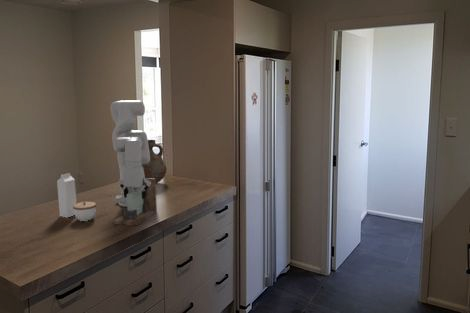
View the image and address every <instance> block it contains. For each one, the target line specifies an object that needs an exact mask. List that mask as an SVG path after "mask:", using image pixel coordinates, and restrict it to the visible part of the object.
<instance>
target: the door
mask: <svg viewBox="0 0 470 313" xmlns="http://www.w3.org/2000/svg"><path fill="white" fill-rule="evenodd" d="M142 191H143V190H142V189H140V188H138V189H136V190H134V191H132V192H130V193H128V194H127V208H126V209H127V210H128V211H134V210H137V215H139V214H140V213H142V212H143V211H144V204H143V199H142Z"/></svg>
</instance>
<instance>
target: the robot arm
mask: <svg viewBox="0 0 470 313" xmlns="http://www.w3.org/2000/svg"><path fill="white" fill-rule="evenodd" d="M109 108H110V114H111V117H112V120H113V122H114V123H115V126H114V128H113V131H112V134H111V135H112V136H111V138H112V148H113V150H114V151H115V152H116V153H117V154H116V155H117V156H116V157H117V162H118V167H119V177H120V178H119V180H118V181H117V182H118V183H119V187H120V194H121V195H116V196H115V200H117V201H119V202H118V206H121V207H124V208H126V207H127V194H128V193H130V192H132V191H134V188H141V189H142V190H143V191H142V199H144V198H146V196H147V195H146V190H147V189H148V188H149V186H150V184H151V182H150V181H148V180H146V179H145V175H144V170H143V167H142V166H141V164H147V163H149V161H150V152H149V145H148V140H149V139H148V135H147V133H146V132H145V131H144V130H133V129H134V128H135V127H136V125H137V122H136V117H143V116H144V115H145V111H146V107H145V104H144V102H143V101H142V100H137V99H136V100H115V101H113V102H111V104H110V107H109ZM145 183H147V185H146V186H145Z"/></svg>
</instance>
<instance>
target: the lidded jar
mask: <svg viewBox="0 0 470 313" xmlns="http://www.w3.org/2000/svg"><path fill="white" fill-rule="evenodd" d="M76 203H77V202H76ZM73 210H74V215H75V216H74V218H76V219H77V220H78V221H79V220H80V221H79V222H81V221H85V222H89V221H88V220H90V221H91V219H92V220H93V218H94V217H95V216H96V212H97V204H96V202H94V201H85V200H84V201H82V202H78V203H77V204H74V205H73Z"/></svg>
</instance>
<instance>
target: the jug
mask: <svg viewBox="0 0 470 313" xmlns="http://www.w3.org/2000/svg"><path fill="white" fill-rule="evenodd" d="M148 145H149V152H150V161H149V163H147V164H141V166H142V167H143V170H144V175H145V178H155V180H156V186H157V185H159V184H158V183H159V182H161V181H162V180H163V179H164V178H165V176H166V175H167V165H166V162H165V160H164V159H163V157H162V156H163V154H164V148H163V146H162V145H161V144H159V143H156V139H148ZM153 148H159V152H158V153H156V152H154V149H153Z"/></svg>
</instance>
